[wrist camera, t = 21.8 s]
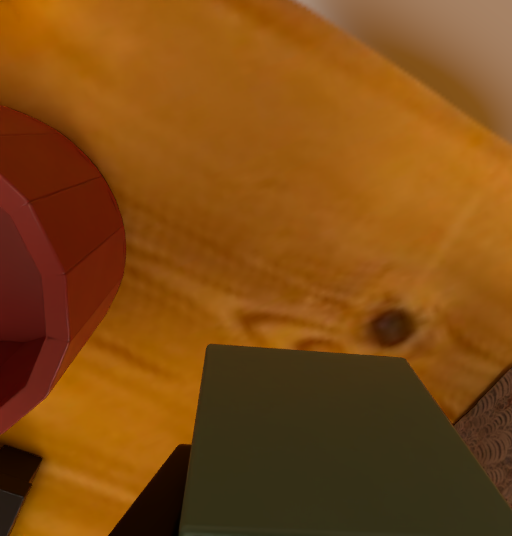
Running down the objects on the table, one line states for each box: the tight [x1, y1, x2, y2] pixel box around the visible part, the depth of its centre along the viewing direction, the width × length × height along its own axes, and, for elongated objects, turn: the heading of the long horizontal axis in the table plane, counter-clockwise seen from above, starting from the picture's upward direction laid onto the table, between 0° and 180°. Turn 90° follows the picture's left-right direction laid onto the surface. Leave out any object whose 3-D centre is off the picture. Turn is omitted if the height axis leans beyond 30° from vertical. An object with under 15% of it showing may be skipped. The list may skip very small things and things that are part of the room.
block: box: [179, 344, 512, 536], centre depth 8 cm, size 4×4×4 cm
